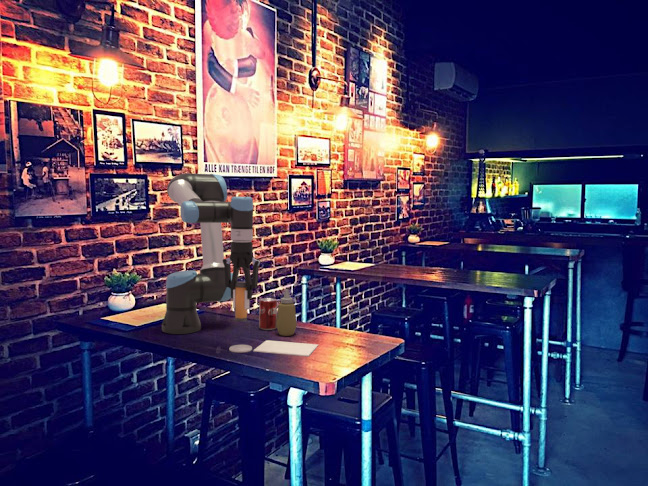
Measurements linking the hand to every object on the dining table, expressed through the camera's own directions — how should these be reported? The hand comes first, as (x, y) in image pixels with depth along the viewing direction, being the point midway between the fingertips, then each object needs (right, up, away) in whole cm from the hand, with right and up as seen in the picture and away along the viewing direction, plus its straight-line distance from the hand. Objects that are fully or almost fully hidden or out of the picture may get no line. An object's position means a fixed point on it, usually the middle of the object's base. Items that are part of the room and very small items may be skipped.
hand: (241, 307), depth 188 cm
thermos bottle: (0, -5, 0) cm, 4 cm away
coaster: (0, -15, +1) cm, 15 cm away
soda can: (+6, -13, +33) cm, 35 cm away
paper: (+16, -15, +4) cm, 22 cm away
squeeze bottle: (+14, -14, +24) cm, 31 cm away
